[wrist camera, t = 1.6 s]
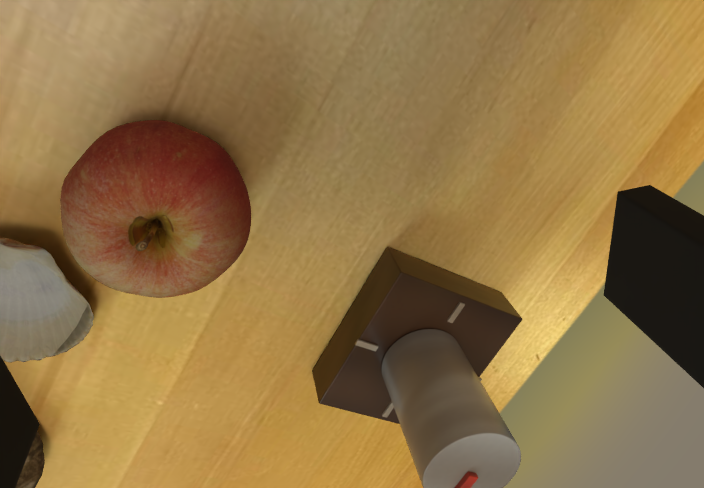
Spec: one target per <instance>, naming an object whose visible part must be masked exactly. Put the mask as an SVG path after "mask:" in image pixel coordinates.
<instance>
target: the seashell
mask: <svg viewBox="0 0 704 488" xmlns="http://www.w3.org/2000/svg"><path fill="white" fill-rule="evenodd" d="M93 319H94V315H93V313H92V311H91V307H90V305H89V303H88V302H87V300H86V299H85V298H84V297H83V295H82V294H81V293H80V292H79V291H78V290H77V289H76V288H75V287H74V286H73V285H72V284H71V283H70V282H69V281H68V280H67V279H66V278H65V276H64V275H63V273H62V271H61V270H60V268H59V267H58V266H57V265H56V263H55V260H54V259H53V257H52V256H51V254H50V253H48V252H47V251H46V250H45V249H43V248H41V247H39V246H36V245H24V244H22V243H20V242H17V241H15V240H12V239H8V238H0V356H1V358H2V359H3V360H4V361H6V362H14V361H22V362H26V361H29V360H41V359H43V358H45V357H51V356H55V355H58V354H60V353H63V352H67V351H68V350H69V349H71V348H72V347H74V346H76V345H77V344H78V343H80V341H82V340H83V339H84V337H85V336H86V335H87V334H88V333H89V330H90V328H91V327H92V326H93Z"/></svg>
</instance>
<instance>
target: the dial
mask: <svg viewBox="0 0 704 488" xmlns="http://www.w3.org/2000/svg"><path fill="white" fill-rule="evenodd" d="M382 376H383V379H384V382H385V384H386V387H387V390H388V393H389V395H390V398H391V401H392V403H393V406H394V409H395V412H396V414H397V417H398V420H399V423H400V425H401V428H402V431H403V434H404V436H405V439H406V442H407V444H408V447H409V450H410V453H411V455H412V458H413V461H414V464H415V466H416V469H417V472H418V475H419V477H420V480H421V483H422V486H423V488H503V487H504V486H505V485H506V484H507V483H508V482H509V481H510V480H511V479H512V478H513V476H514V475H515V474H516V472H517V470H518V468H519V465H520V461H521V453H520V449H519V446H518V445H517V443H516V441H515V439H514V438H513V436H512V434H511V433H510V431H509V429H508V428H507V426H506V424H505V422H504V421H503V419H502V418H501V416H500V414H499V412H498V410H497V409H496V407H495V405H494V404H493V402H492V400H491V398H490V397H489V395H488V393H487V392H486V390H485V388H484V386H483V385H482V383H481V381H480V380H479V378H478V376H477V375H476V373H475V371H474V369H473V368H472V366H471V364H470V363H469V361H468V359H467V357H466V356H465V354H464V352H463V351H462V349H461V347H460V345H459V344H458V342H457V341H456V339H455V338H454V337H453V336H452V335H450V334H448V333H447V332H444V331H441V330H437V329H423V330H418V331H415V332H412V333H409V334H407V335H405V336H403V337H402V338H400V339H399V340H397V341H396V342H395V343H394V344H393V345H392V346H391V347H390V348H389V350H388V351H387V353H386V354H385V356H384V359H383V362H382Z"/></svg>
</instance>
